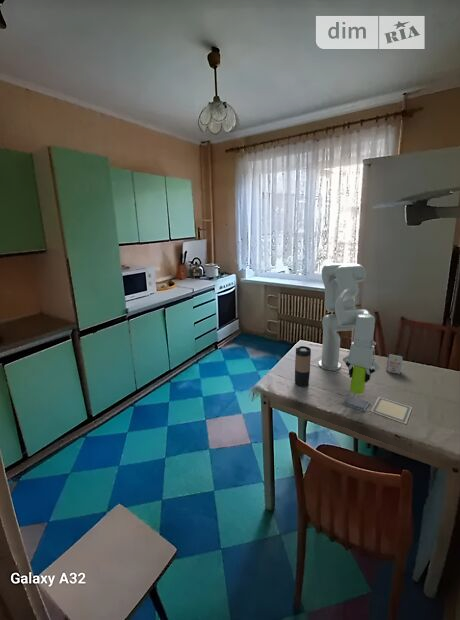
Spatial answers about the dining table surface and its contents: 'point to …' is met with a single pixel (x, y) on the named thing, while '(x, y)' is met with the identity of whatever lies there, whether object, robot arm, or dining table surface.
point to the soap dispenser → (358, 380)
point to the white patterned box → (394, 363)
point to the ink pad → (356, 403)
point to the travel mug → (302, 366)
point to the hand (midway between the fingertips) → (358, 378)
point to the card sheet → (391, 410)
